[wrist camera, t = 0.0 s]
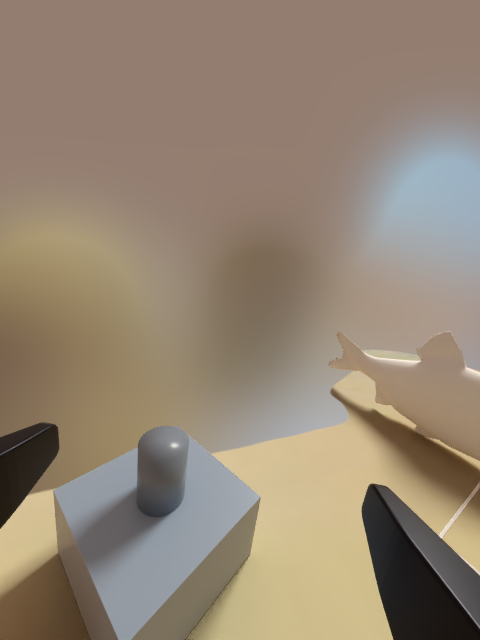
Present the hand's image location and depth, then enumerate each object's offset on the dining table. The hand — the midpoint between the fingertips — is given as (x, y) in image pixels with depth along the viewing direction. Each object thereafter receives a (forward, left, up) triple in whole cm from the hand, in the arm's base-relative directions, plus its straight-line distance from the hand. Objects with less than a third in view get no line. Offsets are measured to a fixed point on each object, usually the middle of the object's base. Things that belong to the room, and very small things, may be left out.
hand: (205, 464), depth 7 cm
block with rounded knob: (+8, +4, -17) cm, 19 cm away
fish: (+30, -27, -17) cm, 43 cm away
